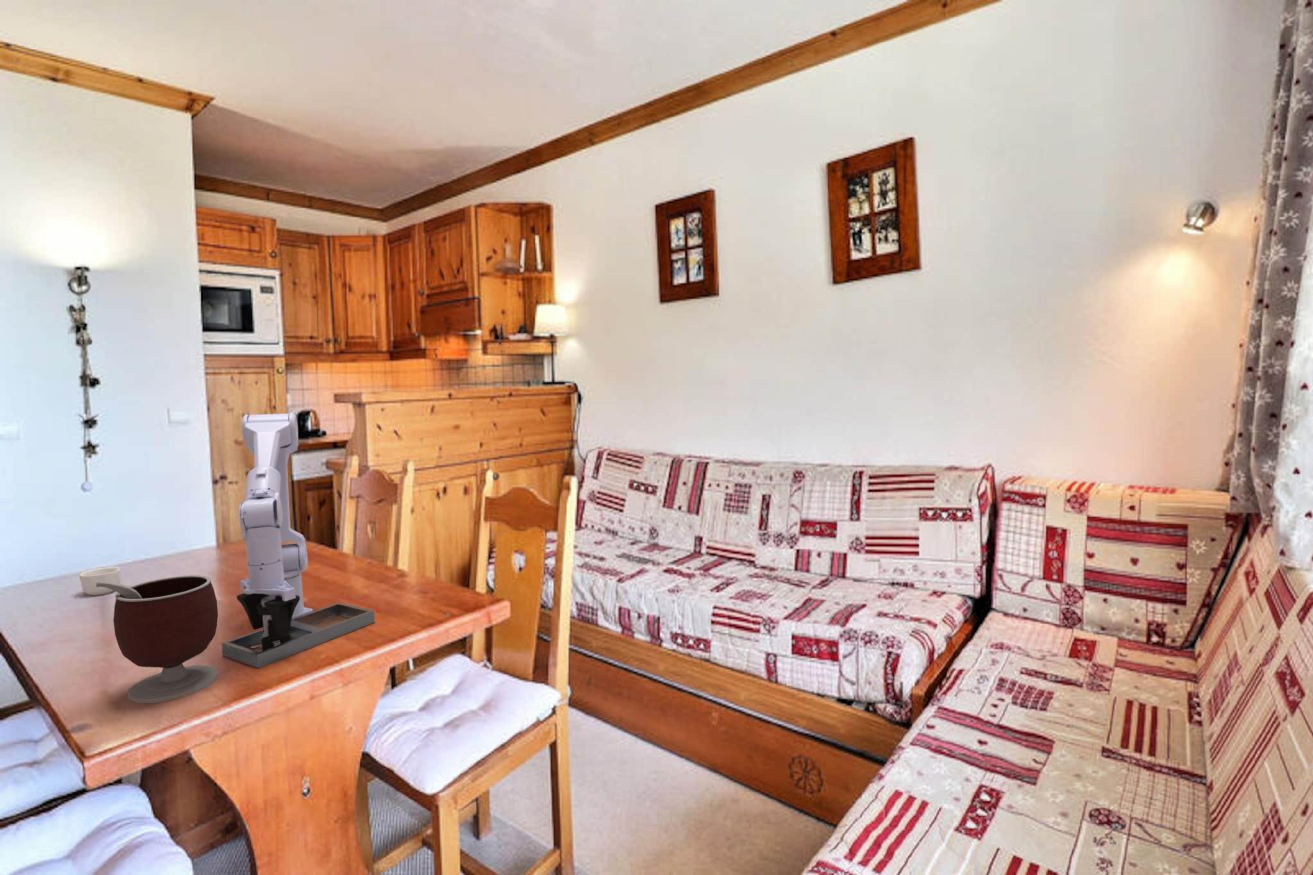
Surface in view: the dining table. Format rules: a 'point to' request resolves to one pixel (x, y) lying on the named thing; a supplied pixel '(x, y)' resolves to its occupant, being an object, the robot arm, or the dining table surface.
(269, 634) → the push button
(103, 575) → the teacup
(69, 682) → the dining table surface
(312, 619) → the rail frame
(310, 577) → the dining table surface
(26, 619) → the dining table surface
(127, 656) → the mate gourd
